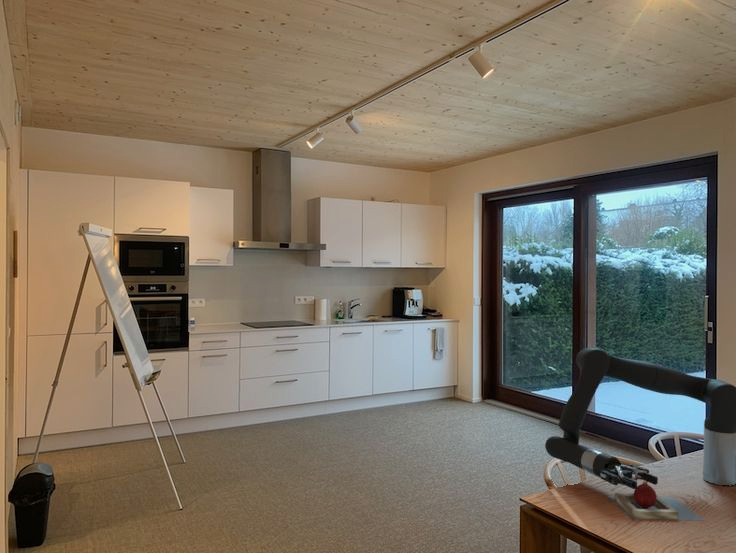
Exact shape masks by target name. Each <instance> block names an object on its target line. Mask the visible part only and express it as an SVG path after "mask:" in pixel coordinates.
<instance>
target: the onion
mask: <svg viewBox="0 0 736 553" xmlns="http://www.w3.org/2000/svg"><path fill="white" fill-rule="evenodd" d="M642 481H643V482H642V483H641V484H639V485H637V489H634V492H633V494H634V498H635V500H636V502H637V503H638V505H640V506H641V507H642V508H643V509H647V508H650V507H652V506H653V505H654V504H655V502H656V499H657V496H658V495H657V493H656V490H655V489H654V488H653V487H652V486H650V485H649V484H648V483H649V482H647V481H645V480H642ZM656 495H657V496H656Z"/></svg>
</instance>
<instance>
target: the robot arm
mask: <svg viewBox="0 0 736 553" xmlns="http://www.w3.org/2000/svg"><path fill="white" fill-rule="evenodd" d="M575 358H576V359H575V362H576V365H577V367H578V368H579V370H580V371H581V373H580V377H579V380H578V382H577V384H576V386H575V389H574V391H573V392H572V393H571V395H570V396H569V398H568V400H567V402H566V403H565V406H564V408H563V411H562V413H561V416H560V418H559V421H558V427H559V429H561V431H563V434H562V435H563V437H561V436H557V435H553V436H550V437H549V438H547V440H546V441H545V445H544V446H545V451H546V453H547V454H548V455H549V456H551V457H552V458H554V459H557V460H561V461H563V462H566V463H569V464H571V465H574V466H575V467H577V468H579V469H581V470H583V471H586V472H587V473H590V475H594V476H596V477H598V478H600V480H603V481H605V482H607V483H609V484H611V485H613V486H618V485H620V486H625V487H628V488H630V489H632V490H635V489H637V486H638V482H637V481H638V480H640V481H647V482H648V483H650V484H652V485H654V486H655V485H658V483H659V482H658V480H659V478H658V477H657V476H656V475H653V474H651V473H650V470H649V469H648V468H644V467H641V466H638V465H636V464H634V463H630V464H629V466H628V465H626V464H622V463H621V462H620V459H618V458H617V457H616V456H613V455H611V454H608V453H605V452H603V451H600V450H597V449H593V448H590V447H588V446H585V445H581V444H579V443H580V434H581V433H580V431H581V429H582V426H583V424H584V420H585V418H586V415H587V412H588V410H589V407H590V405H591V402H592V401H593V398H594V396H595V394H596V391H597V389H598V388H599V386H600V384H601V382H602V381H603V379H604V378H605V377H608V378H613V379H617V380H619V381H622V382H624V383H627V384H630V385H631V386H635V387H638V388H641V389H644V390H647V391H650V392H654V393H657V394H663V395H673V396H674V395H676V396H684V397H687V398H691V399H695V400H697V401H699V402H702V403H705V404H707V405H708V406H710V408H709V409H710V410H709V412H710V413H709V416H708V417H706V418H705V419H704V421H703V422H704V423H703V426H704V427H703V455H702V462H703V463H702V464H703V465H702V470H703V471H702V479H703V480H704V481H706V482H707V481H708V483H710V484H713V483H714V484H713V485H718V486H722V485H726V486H725V487H732V486H731V485H734V486H735V484H736V386H735V385H734V384H731V383H729V382H726V381H723V380H720V379H714V378H707V377H699V376H695V375H691V374H689V373H688V374H687V373H685V372H682V371H680V370H678V369H674V368H671V367H668V366H665V365H661V364H657V363H654V362H649V361H645V360H638V359H637V360H636V359H631V358H623V357H617V356H614V355H612V354H609V353H607V352H606V351H604V349H603V350H602V349H600V348H597V347H587V348H584V349H582V350H580V351H579V352H578V353H577V355H576V357H575ZM633 475H634V476H633ZM727 485H729V486H727Z"/></svg>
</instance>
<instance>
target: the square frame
mask: <svg viewBox="0 0 736 553" xmlns="http://www.w3.org/2000/svg"><path fill="white" fill-rule="evenodd" d="M656 496H657V499H656V502H655V505H656V506H657V507H658V508H660V509H637V508H636V507H635V506H633V505H632V504H631V503H630V502H636V500H635V498H634V493H625V492H623V493H621V492H620V493H618V492H616V493H615V492H614V497H615V501H616V502H617V503H618V504H619V505H620V506H622V507H623V508H624V509H625V510H626V511H627V512H628V513H629V514H630V515H631V516H632V517H633V518H634V519H678V511H676V510H675V509H674V508H673V507H671V506H670V505H669V504H667V503H666V502H665V501H664V500H662V499H661V498H660V497H661V496H658V494H656ZM634 519H633V520H634Z"/></svg>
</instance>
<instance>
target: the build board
mask: <svg viewBox="0 0 736 553" xmlns="http://www.w3.org/2000/svg"><path fill="white" fill-rule="evenodd" d="M659 497H660V498H661V499H662V500H664V501H665V502H666V503H667V504H669V505H670V506H671V507H673V508H674V509H675V510H676V511H678V519H634V518H633V517H632V516H631V515H630V514H629V513H628V512H627V511H626V510H625V509H624V508H623V507H622V506H620V505H619V504H618V503H617V502H616V501H615V495H614V496H610V495H608V496H607V498H608V499H609V500H611V502H613V503H614V504H615V505H616V506H617V508H619V509H620V510H621V511H622V512H623V513H624V514H625V515H626V516H627V517H629V518H630V520H634V521H635V520H641V521H643V520H647V521H697V522H698V521H699V522H700V521H701V522H702V521H704V522H705V519H704V518H702V517H700V515H698V514H697V513H696V512H694V511H693V510H691V508H689V507H687V506H686V505H685V504H684V503H682V502H681V501H680V500H678V499H676V498H675V497H672V496H671V497H669V496H668V497H666V496H665V497H664V496H662V497H661V496H659ZM630 503H631V504H632V505H633V506H635V507H636V508H637V509H643V508H642V507H641V506H640V505H638V503H637V502H630ZM647 509H660V508H658V507H657V506H656V505H655V504H654V505H653V506H652V507H650V508H647Z"/></svg>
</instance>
